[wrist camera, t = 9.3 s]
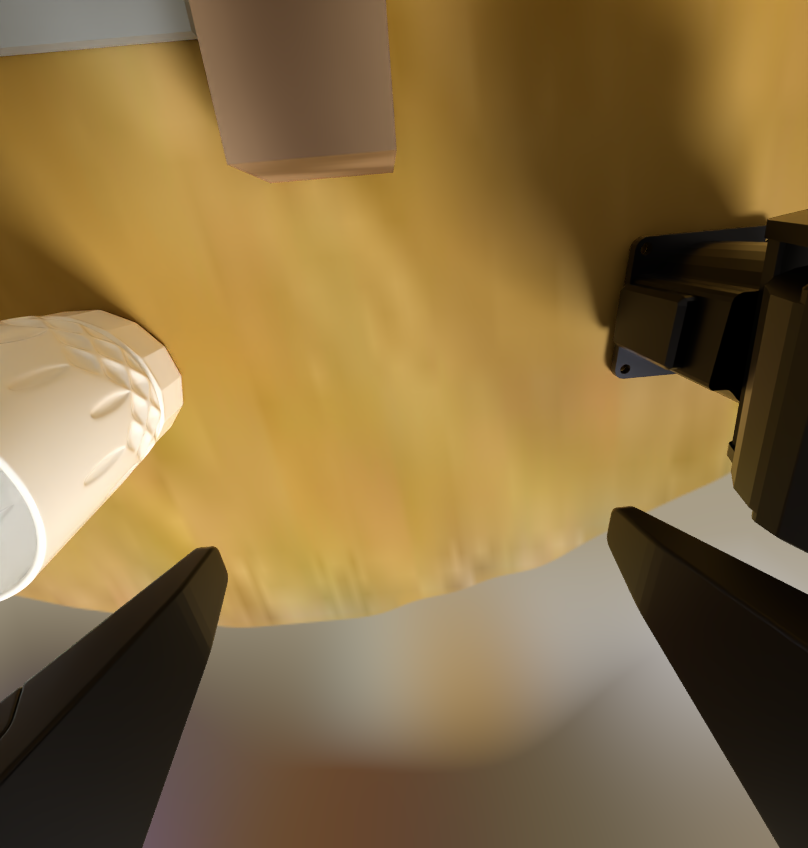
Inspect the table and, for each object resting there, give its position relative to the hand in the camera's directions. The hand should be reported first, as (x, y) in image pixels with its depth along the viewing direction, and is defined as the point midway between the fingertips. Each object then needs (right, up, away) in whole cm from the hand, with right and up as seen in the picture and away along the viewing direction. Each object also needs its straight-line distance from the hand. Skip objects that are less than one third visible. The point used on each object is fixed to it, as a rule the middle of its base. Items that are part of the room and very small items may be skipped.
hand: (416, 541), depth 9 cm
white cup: (-15, +5, +10) cm, 19 cm away
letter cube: (-3, +15, +6) cm, 16 cm away
